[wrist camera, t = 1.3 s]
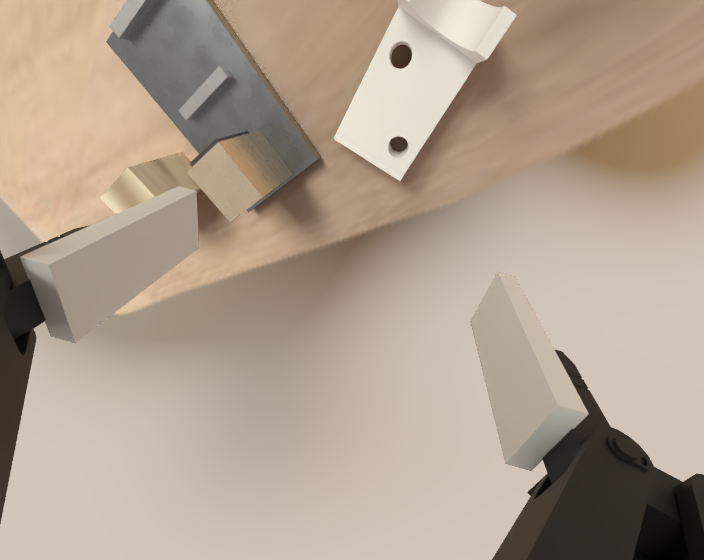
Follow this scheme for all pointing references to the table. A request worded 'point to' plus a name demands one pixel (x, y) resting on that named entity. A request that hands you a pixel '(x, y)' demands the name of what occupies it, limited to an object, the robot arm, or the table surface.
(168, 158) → the wooden block
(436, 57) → the bracket
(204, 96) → the grey base stand
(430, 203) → the table surface
